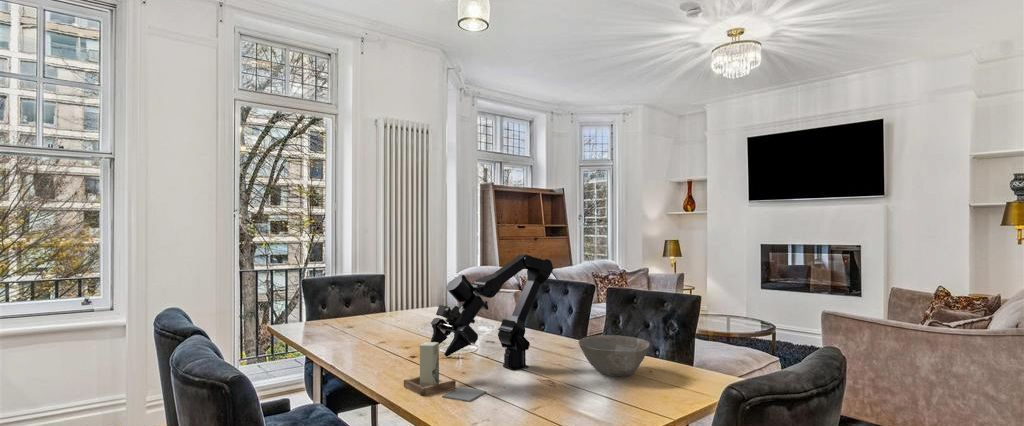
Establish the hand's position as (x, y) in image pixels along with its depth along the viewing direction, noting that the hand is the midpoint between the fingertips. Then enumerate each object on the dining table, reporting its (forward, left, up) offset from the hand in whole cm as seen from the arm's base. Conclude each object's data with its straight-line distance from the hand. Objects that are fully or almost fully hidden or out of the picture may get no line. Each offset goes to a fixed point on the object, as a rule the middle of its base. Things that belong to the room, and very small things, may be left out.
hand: (437, 352), depth 155 cm
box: (+3, 0, -10) cm, 10 cm away
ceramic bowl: (-51, +22, -10) cm, 57 cm away
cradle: (+3, 0, -10) cm, 10 cm away
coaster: (-2, +12, -10) cm, 16 cm away
